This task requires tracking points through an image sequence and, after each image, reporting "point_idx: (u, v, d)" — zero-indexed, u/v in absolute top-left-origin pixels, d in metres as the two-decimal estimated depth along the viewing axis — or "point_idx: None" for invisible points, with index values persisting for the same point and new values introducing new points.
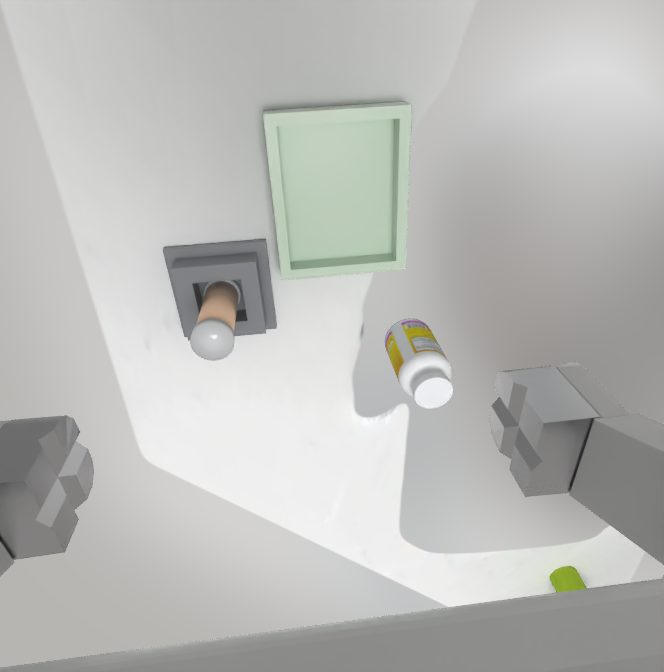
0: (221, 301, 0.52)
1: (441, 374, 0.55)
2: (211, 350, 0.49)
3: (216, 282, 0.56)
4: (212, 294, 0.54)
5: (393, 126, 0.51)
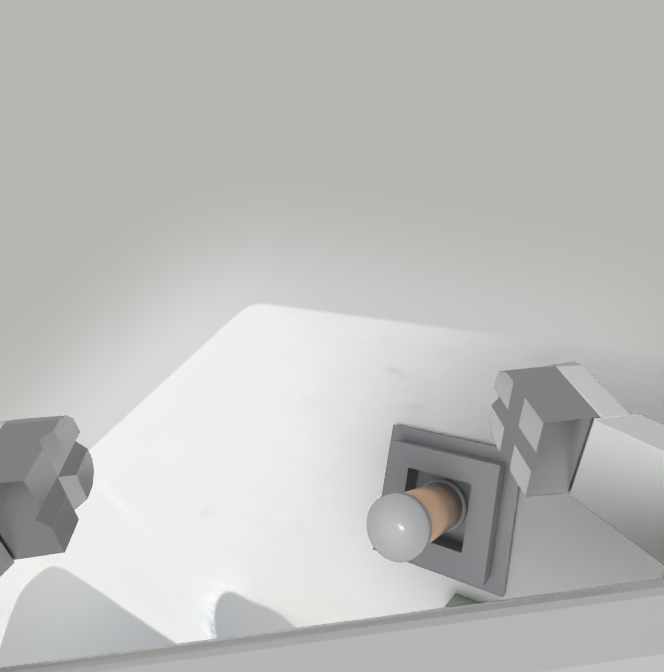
0: (443, 531, 0.36)
1: None
2: (383, 520, 0.33)
3: (461, 508, 0.41)
4: (451, 513, 0.38)
5: None
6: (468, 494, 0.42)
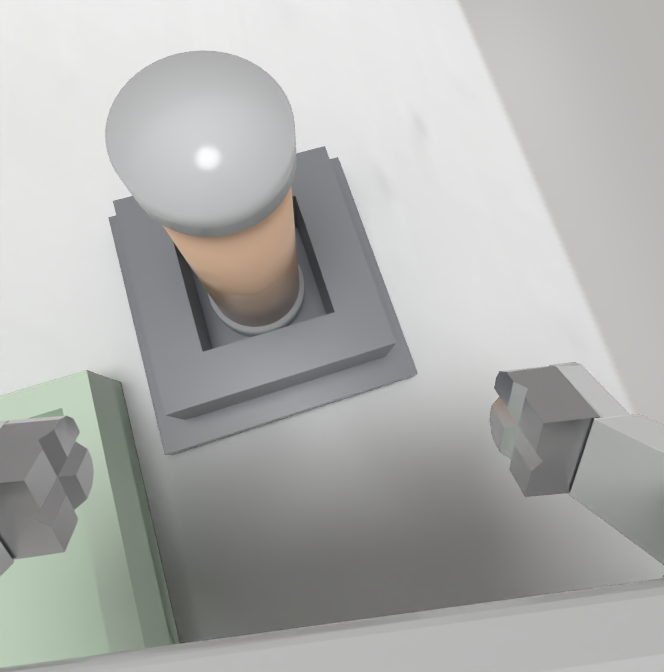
0: (232, 287, 0.16)
1: None
2: (201, 93, 0.11)
3: (274, 320, 0.21)
4: (269, 296, 0.18)
5: None
6: None
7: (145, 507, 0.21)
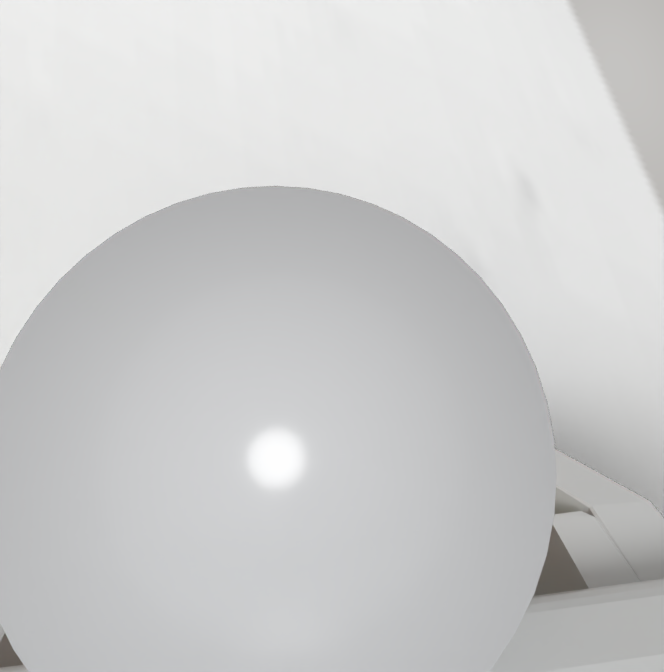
0: None
1: None
2: (272, 321, 0.04)
3: None
4: None
5: None
6: None
7: None
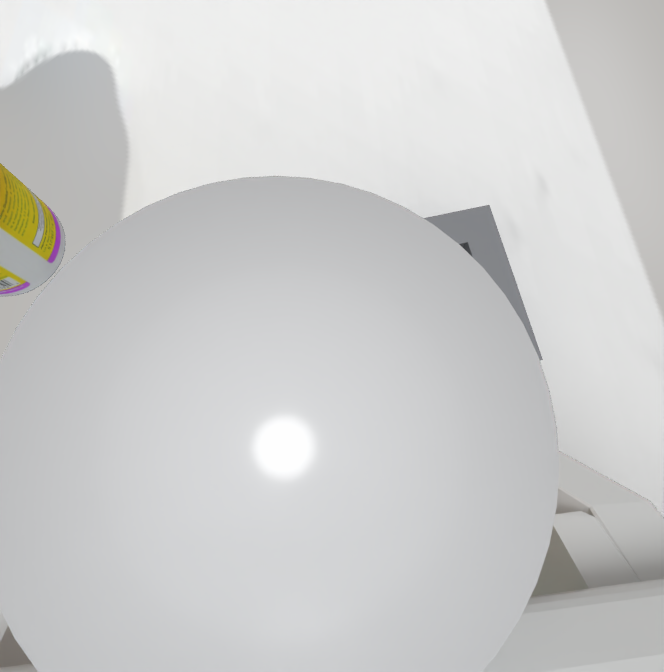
0: None
1: None
2: (274, 310, 0.04)
3: None
4: None
5: None
6: None
7: None
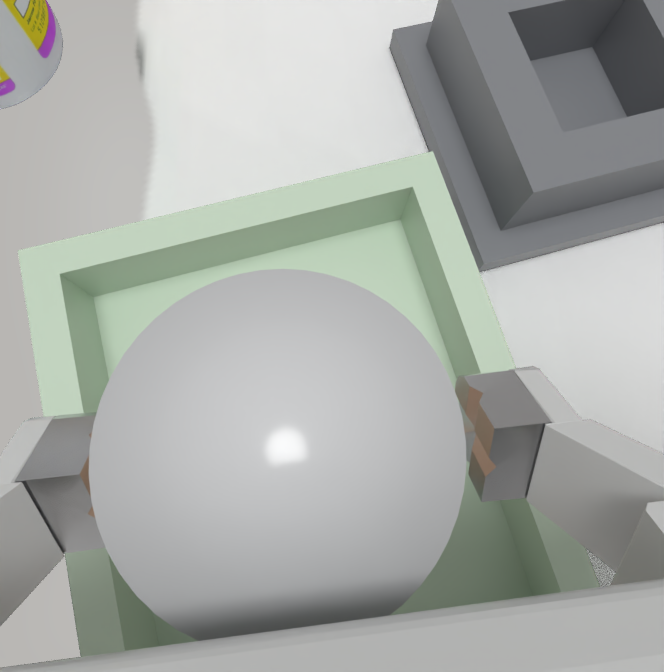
0: None
1: None
2: (281, 363, 0.06)
3: None
4: None
5: None
6: None
7: None
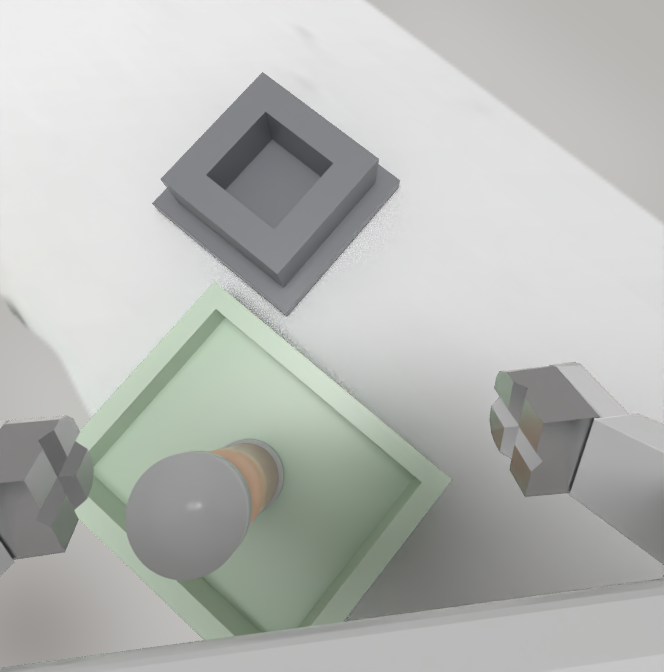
0: None
1: None
2: (171, 492, 0.17)
3: (272, 496, 0.27)
4: (264, 505, 0.24)
5: None
6: None
7: None
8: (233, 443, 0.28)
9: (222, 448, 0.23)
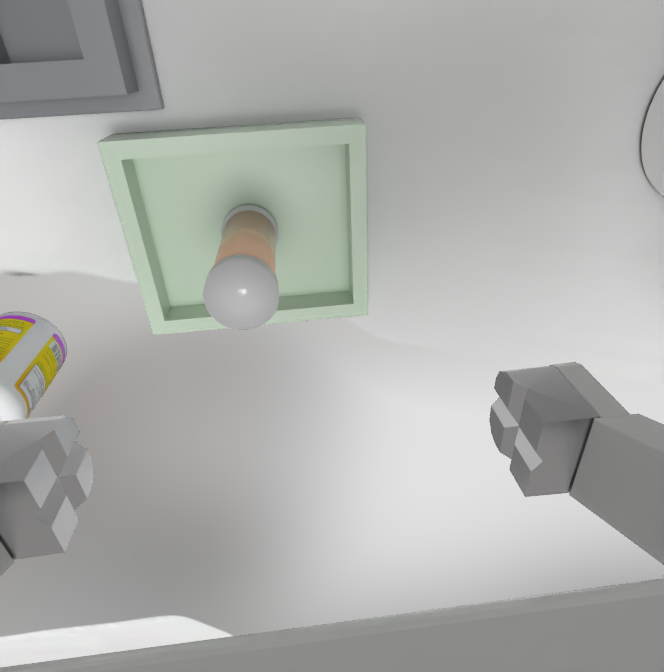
0: None
1: None
2: (224, 295, 0.27)
3: (274, 231, 0.37)
4: (274, 244, 0.34)
5: (337, 291, 0.41)
6: None
7: (194, 129, 0.34)
8: (223, 224, 0.36)
9: (222, 242, 0.32)
